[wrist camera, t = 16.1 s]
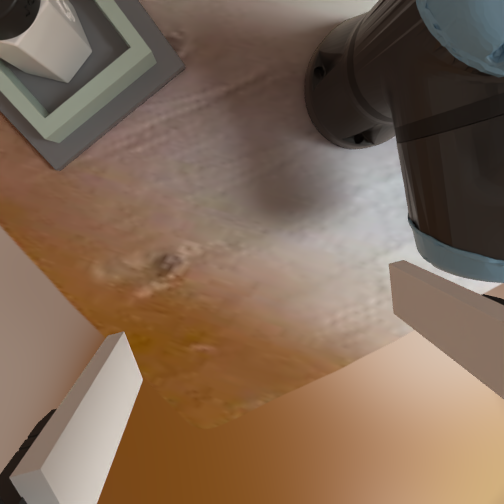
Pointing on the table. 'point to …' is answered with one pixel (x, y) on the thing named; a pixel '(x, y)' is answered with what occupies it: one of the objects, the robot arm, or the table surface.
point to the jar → (43, 38)
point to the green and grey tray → (91, 82)
